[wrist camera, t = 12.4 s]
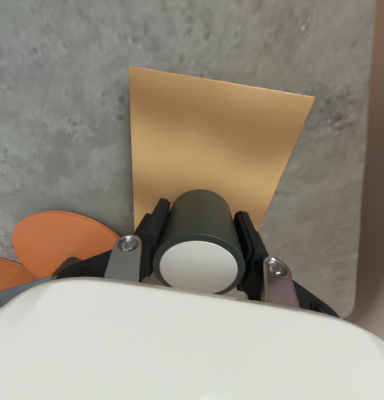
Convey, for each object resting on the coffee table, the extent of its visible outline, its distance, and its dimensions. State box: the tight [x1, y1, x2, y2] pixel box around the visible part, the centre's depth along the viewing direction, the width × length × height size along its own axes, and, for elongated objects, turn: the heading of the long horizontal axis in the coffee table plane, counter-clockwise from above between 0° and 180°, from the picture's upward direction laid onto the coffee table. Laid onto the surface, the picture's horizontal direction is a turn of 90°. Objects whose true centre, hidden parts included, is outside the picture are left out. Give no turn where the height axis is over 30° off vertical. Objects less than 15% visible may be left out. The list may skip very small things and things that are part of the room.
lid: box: [12, 210, 120, 279], centre depth 18 cm, size 16×16×7 cm
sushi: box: [152, 189, 245, 295], centre depth 10 cm, size 5×5×5 cm
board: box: [129, 66, 315, 232], centre depth 15 cm, size 18×12×2 cm, turn 172°
